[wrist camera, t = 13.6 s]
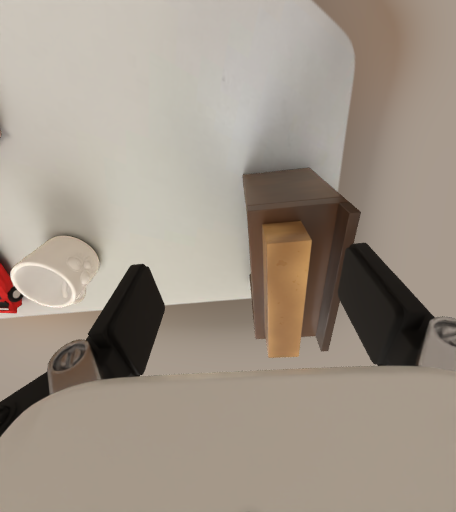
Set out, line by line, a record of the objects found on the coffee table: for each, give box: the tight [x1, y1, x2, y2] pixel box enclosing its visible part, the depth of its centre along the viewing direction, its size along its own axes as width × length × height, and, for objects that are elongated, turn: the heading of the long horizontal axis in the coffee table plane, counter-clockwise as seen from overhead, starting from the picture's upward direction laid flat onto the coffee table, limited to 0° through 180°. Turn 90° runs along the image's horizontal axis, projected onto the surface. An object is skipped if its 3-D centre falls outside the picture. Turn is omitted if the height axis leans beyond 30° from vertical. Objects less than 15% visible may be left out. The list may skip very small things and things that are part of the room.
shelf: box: [243, 168, 361, 351], centre depth 33 cm, size 10×21×16 cm, turn 6°
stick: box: [262, 221, 312, 358], centre depth 27 cm, size 4×18×4 cm, turn 6°
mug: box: [10, 236, 99, 307], centre depth 40 cm, size 12×10×9 cm
